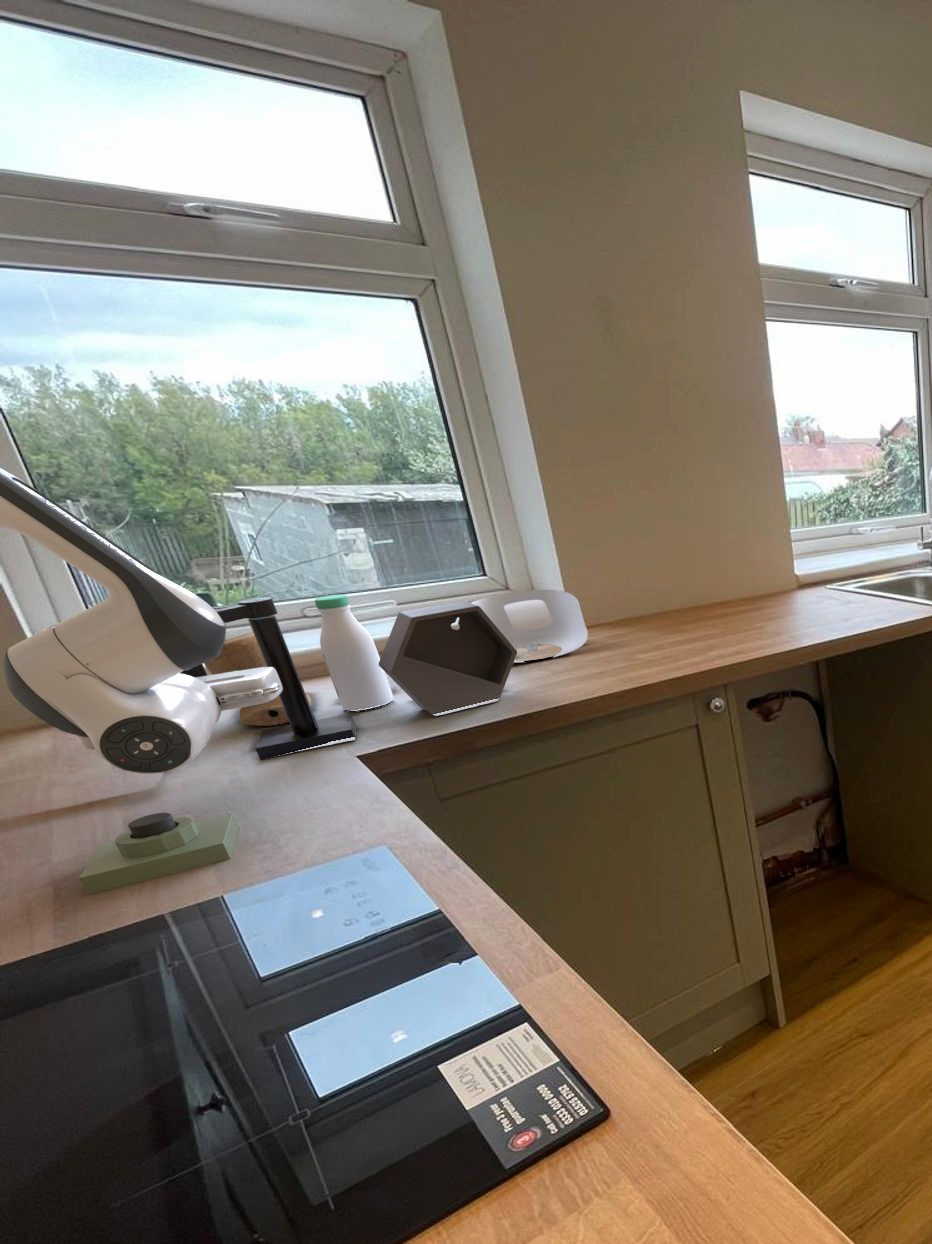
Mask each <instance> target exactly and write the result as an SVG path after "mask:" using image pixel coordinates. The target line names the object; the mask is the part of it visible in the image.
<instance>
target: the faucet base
mask: <svg viewBox="0 0 932 1244" xmlns="http://www.w3.org/2000/svg"><path fill="white" fill-rule="evenodd" d="M247 621H248V623H249V625H250V628H251V631H252V633H254V636H255V638H256V641H257V643H258V646H259V648H260V651H261V653H262V656H263V658H264V660H265V663H266V665H267V667H273V668H275V669H276V671H277V674H278V676H279V678H280V681H281V684H282V687H283V690H282V692H281V693H280V694H279V698H280V700H281V703H282V705H283V708H284V710H285V713H286V715H287V718H288V720H289V722H288V723H289V725H284V726H279V727H273V728H268V729H263V730H260V733H259V736H258V739H257V742H256V746H255V751H256V753H257V756H258V758H259V761H262V759H263V760H266V759H265V758H268V759H271V758H270V757H273V758H275V757H274V756H278V755H283V754H286V753H290V752H295V751H298V750H302V749H306V748H310V747H314V746H318V745H322V744H326V743H328V742H331V741H336V740H341V739H346V738H351V737H355V723H356V720H355V718H354V715H353V713H348V714H343V715H336V716H332V717H326V718H321V719H316V717H315V715H314V712H313V710H312V709H313V708H312V706H311V707H310V704H309V702H308V699H307V696H306V694H307V693H306V691H305V689H304V686H303V683H302V681H301V678H300V676H299V673H298V671H297V668H296V665H295V663H294V660H293V658H292V655H291V653H290V650H289V648H288V645H287V642H286V640H285V638H284V635H283V632H282V629H281V627H280V625H279V622H278V620H277V617H276V614H275V615H272V616H267V617H261V618H251V619H247ZM305 693H306V694H305ZM283 756H284V755H283ZM278 757H279V756H278Z"/></svg>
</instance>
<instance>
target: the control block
mask: <svg viewBox="0 0 932 1244" xmlns="http://www.w3.org/2000/svg"><path fill="white" fill-rule="evenodd" d="M172 818H173V820H174V822H175V824H176V826H177V827H176V828H174V829H172V830H170V831H167V832H165V833H162V834H159V835H155V836H151V837H146V838H138V839H135V838H134V837H133V835H132V833H131V831H130V829H128V830H126V831H124V832H122V833H120V834H119V835H117V836H116V838H115V840H114V839H113V840H110V841H106V842H102V843H99V846H98V847H97V848H96V850H95V851H94V853H93V855H92V856H91V858H90V859H89V861H88V862H87V864H86V866H85V867H84V869H83V870H82V872H81V874H80V875H79V877H78V880H79V881H80V883H81V885H82V887H83V889H84V891H85V892H86V894H87V895H92V894H96V893H100V892H104V891H108V890H113V889H116V888H120V887H124V886H128V885H132V884H136V883H140V882H144V881H148V880H153V879H156V878H159V877H160V878H161V877H164V876H168V875H172V874H177V873H179V872H184V871H187V870H191V869H196V868H200V867H203V866H209V865H212V864H215V863H219V862H223V861H227V860H231V858H232V855H233V852H234V848H235V845H236V841H237V838H238V835H239V832H240V826H239V824H238V821H237V819H236V817H235V815H234V814H233V813H229V814H225V815H224V814H223V815H220V816H216V817H212V818H211V817H210V818H207V819H202V820H198V821H195V820H194V819H193V818H191V817H187V816H177V817H176V816H175V817H172Z"/></svg>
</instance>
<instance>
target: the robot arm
mask: <svg viewBox="0 0 932 1244" xmlns="http://www.w3.org/2000/svg"><path fill="white" fill-rule="evenodd" d="M0 528H3V529H5V530H10V531H13V532H16V533H18V534H22V535H23V536H25V537H27V538H29V539H31V540H32V541H34V542H36V543H37V544H39V545H40V546H42V547H43V548H45V549H46V550H48V551H49V552H51V553H52V554H53V555H55V556H57V557H58V558H59V559H61V560H63V561H64V562H66V563H67V564H69V565H70V566H72V567H73V568H75V569H76V570H77V571H79V572H81V573H83V574H84V575H85V576H87V577H89V578H90V579H91V580H93V581H94V582H96V583H97V584H98V585H100V586H102V587H104V588H105V589H106V590H107V592H108V596H107V597H106V598H105V599H103V600H102V601H100V602H99V603H97V604H95V605H92V606H91V607H89V608H87V609H84V610H83V611H81V612H79V613H76V614H75V615H72V616H70V617H69V618H67V619H65V620H63V621H61V622H59V623H55V624H53V625H51V626H49V627H47V628H44V629H42V630H41V631H38V632H37V633H35V634H33V635H31V636H29V637H27V638H25V639H24V640H21V641H20V642H18V643H16V644H14V645H12V646H10V647H7V648H6V650H5V652H4V655H3V661H2V668H3V674H4V680H5V684H6V686H7V688H8V690H9V692H10V694H12V696H13V697H14V698H15V699H16V700H17V701H18V703H20V704H21V705H22V706H23V707H24V708H25V709H26V710H28V711H29V712H30V713H31V714H33V715H34V716H36V717H37V718H38V719H40V720H41V721H43V722H44V723H47V724H48V725H50V726H52V727H54V728H55V729H57V730H59V731H62V732H64V733H67V734H70V735H74V736H77V737H78V739H79V741H81V743H82V744H83V746H84V747H85V749H88V750H95V751H96V752H97V753H98V755H99V756H100V757H101V759H103V760H104V761H106V762H107V763H108V764H110V765H111V766H113V767H115V768H117V769H119V770H121V771H125V772H128V773H132V774H133V773H134V774H141V775H155V774H162V773H167V772H172V771H175V770H177V769H179V768H182V767H184V766H186V765H188V764H189V763H191V762H192V761H193V760H194V759H195V758H196V757H198V755H199V754H200V753H201V752H202V751H203V750H204V748H205V747H206V745H207V744H208V742H209V740H210V738H211V736H212V735H211V734H212V733H213V732H214V730H215V728H216V726H217V724H218V722H219V720H220V717H221V715H222V712H225V711H231V710H235V709H241V708H242V707H248V706H253V705H258V704H263V703H266V702H269V701H272V700H273V699H275V698H276V697H277V696H278V695H279V694H280V693H281V692H282V690H283V687H282V684H281V681H280V678H279V676H278V674H277V671H276V669H275V668H273V667H260V668H254V669H247V670H241V671H232V672H226V673H221V674H215V675H212V674H207V676H202V677H192V676H189V675H185V674H180V672H182V671H184V670H185V671H186V670H189V669H191V668H194V667H196V666H198V665H200V664H203V665H204V663H205V662H207V661H209V660H212V659H214V658H216V657H218V656H219V655H220V653H221V650H222V648H223V645H224V641H225V639H226V634H227V625H226V624H227V623H224V621H223V620H222V619H221V618H220V616H219V615H218V613H217V612H216V611H215V610H216V609H214V607H212V606H211V605H210V604H209V603H207V601H205V600H204V599H203V598H201V597H200V596H199V595H197V594H195V593H193V592H192V591H190V590H188V589H187V588H185V587H182V586H180V585H179V584H177V583H175V582H173V580H170V579H169V578H167V577H165V576H164V575H163V574H162V573H159V572H158V571H156V570H155V569H153V568H151V567H150V566H148V565H147V564H146V563H144V562H143V561H142V560H140V559H139V558H137V557H136V556H134V555H133V554H131V553H130V552H128V551H127V550H125V549H124V548H123V547H121V546H120V545H118V544H116V543H115V542H114V541H112V540H111V539H110V538H108V537H107V536H105V535H104V534H102V533H101V532H99V531H98V530H97V529H95V528H93V527H92V526H91V525H89V524H88V523H86V522H85V521H83V520H82V519H80V518H79V517H77V516H76V515H75V514H74V513H72V512H71V511H69V510H68V509H66V508H64V506H61V505H60V504H58V503H57V502H56V501H54V500H52V499H51V498H49V497H48V496H47V495H45V494H43V493H42V492H41V491H39V490H38V489H36V488H34V487H33V486H31V485H30V484H28V483H27V482H25V481H23V480H22V479H20V478H19V477H17V476H15V475H14V474H12V473H10V472H8V471H6V470H5V469H3V468H1V467H0Z"/></svg>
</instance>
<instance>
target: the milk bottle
mask: <svg viewBox="0 0 932 1244" xmlns="http://www.w3.org/2000/svg"><path fill="white" fill-rule="evenodd" d="M314 604H315V606H316V609H317V612H318V613H319V614H320V616H321V630H320V636H319V646H320V650H321V653H322V656H323V660H324V662H325V665H326V668H327V671H328V674H329V676H330V679H331V682H332V685H333V688H334V690H335V692H336V695H337V698H338V700H339V703H340V706H341V708H342V709H343V710H344V709H345V710H358V709H365V708H370V707H375V706H378V705H382V704H385V703H388V702H390V701H392V700H393V701H394V694H393V691H392V689H391V686H390V682H389V680H388V677H387V673H386V672H385V671H384V670H383V669H382V668H381V667H380V666H379V665H378V664H379V661H380V658H381V656H380V654H379V652H378V649H377V647H376V644H375V641H374V638H372V636H371V635H370V633H369V631H368V630H367V629H366V628H365V627H364V626H363V625H362V624H361V623H360V622H359V621H358V620H357V618H356V617H355V616H354V615H353V613H352V611H351V605H350V600H349V598H348V596H347V595H345V594H333V595H326V596H321V597H317V598H315V599H314ZM345 710H344V711H345Z"/></svg>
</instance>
